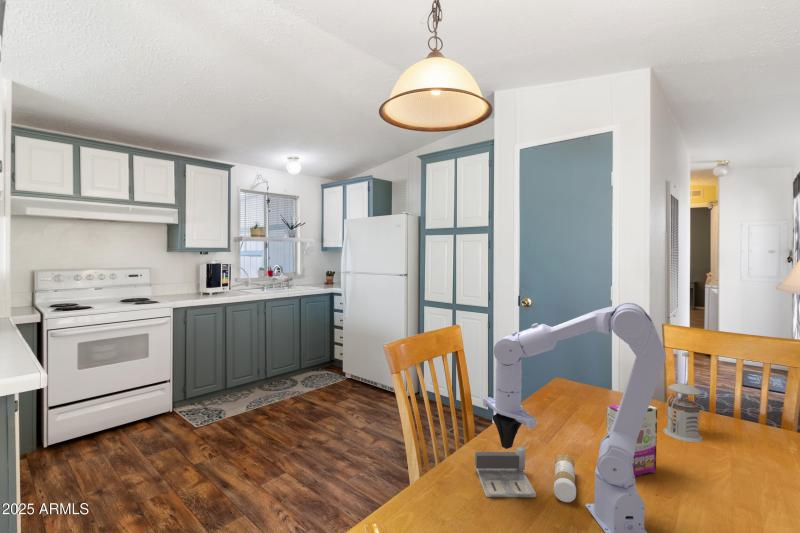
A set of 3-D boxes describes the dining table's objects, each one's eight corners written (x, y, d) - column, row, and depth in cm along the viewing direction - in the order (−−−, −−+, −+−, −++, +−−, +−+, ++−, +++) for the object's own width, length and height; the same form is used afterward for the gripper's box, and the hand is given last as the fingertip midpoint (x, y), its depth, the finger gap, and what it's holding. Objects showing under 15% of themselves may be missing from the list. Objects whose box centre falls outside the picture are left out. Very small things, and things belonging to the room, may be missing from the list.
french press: (710, 438, 119) (714, 354, 117) (684, 445, 114) (688, 358, 113) (677, 425, 128) (680, 347, 127) (651, 430, 123) (654, 350, 122)
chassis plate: (536, 498, 89) (536, 493, 89) (486, 498, 89) (486, 492, 89) (519, 468, 101) (519, 463, 101) (475, 467, 101) (475, 462, 101)
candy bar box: (639, 462, 105) (642, 400, 104) (656, 473, 100) (659, 408, 99) (603, 468, 102) (606, 404, 101) (619, 479, 97) (622, 412, 96)
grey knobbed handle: (526, 470, 98) (526, 451, 97) (476, 470, 98) (476, 450, 97) (523, 465, 100) (523, 446, 100) (474, 465, 100) (475, 446, 100)
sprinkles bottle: (564, 475, 100) (564, 507, 88) (550, 459, 101) (549, 489, 89) (579, 465, 99) (581, 496, 86) (565, 449, 100) (565, 478, 87)
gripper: (546, 395, 88) (544, 456, 89) (498, 377, 101) (497, 430, 101) (523, 401, 84) (521, 464, 85) (476, 381, 97) (475, 436, 98)
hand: (507, 446), depth 93 cm, fingers closed
